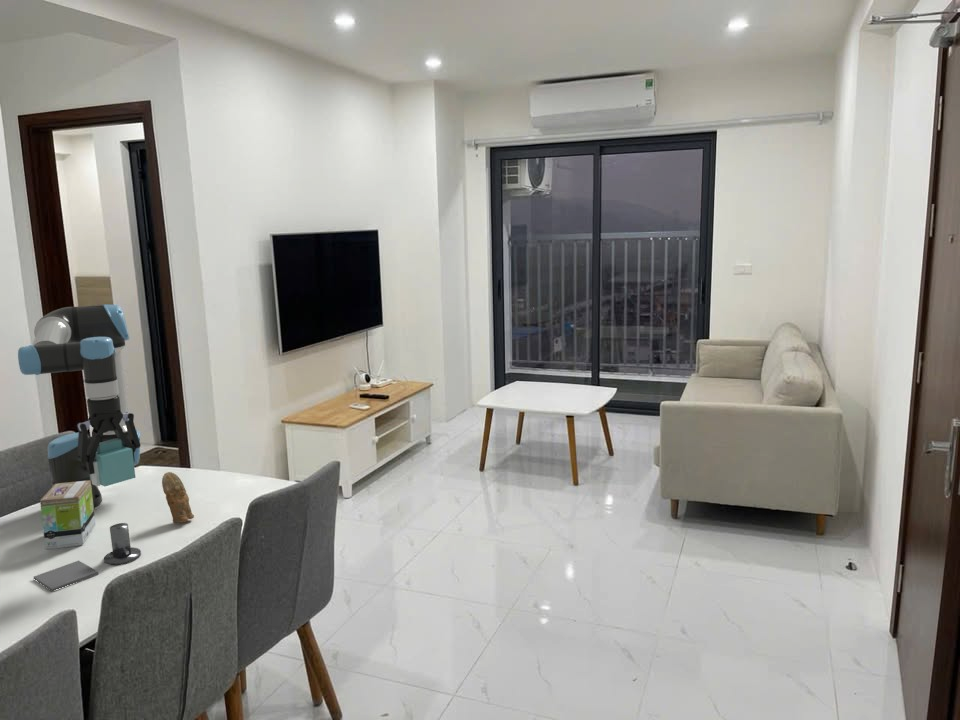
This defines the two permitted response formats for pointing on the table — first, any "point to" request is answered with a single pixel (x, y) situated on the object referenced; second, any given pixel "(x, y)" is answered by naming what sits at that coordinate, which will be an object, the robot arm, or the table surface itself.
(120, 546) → the post
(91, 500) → the tea box
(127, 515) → the table surface
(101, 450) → the cap
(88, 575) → the pad
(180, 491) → the figurine
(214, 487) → the table surface
